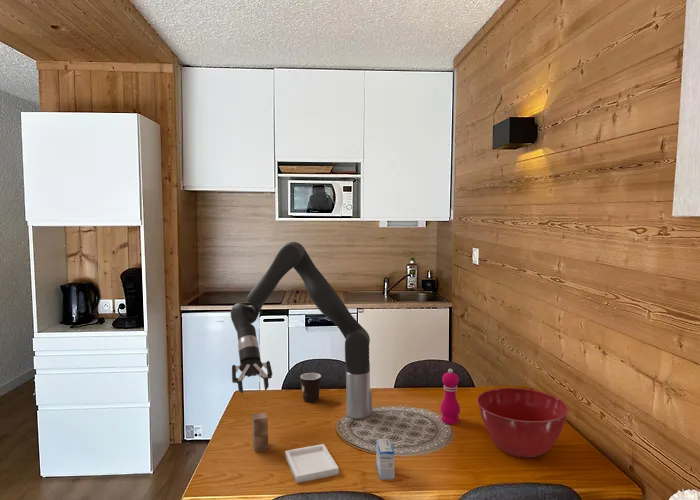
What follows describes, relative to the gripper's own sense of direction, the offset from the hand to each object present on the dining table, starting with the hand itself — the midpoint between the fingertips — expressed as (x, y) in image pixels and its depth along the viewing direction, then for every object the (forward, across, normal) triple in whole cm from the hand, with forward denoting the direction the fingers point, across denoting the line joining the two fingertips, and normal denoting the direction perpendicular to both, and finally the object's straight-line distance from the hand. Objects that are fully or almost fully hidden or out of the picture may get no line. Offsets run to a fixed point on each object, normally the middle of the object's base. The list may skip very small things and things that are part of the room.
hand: (254, 390), depth 171 cm
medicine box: (+40, +33, -18) cm, 55 cm away
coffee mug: (-6, +27, +28) cm, 39 cm away
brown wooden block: (+19, 0, +3) cm, 19 cm away
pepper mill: (+23, +70, -1) cm, 74 cm away
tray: (+31, +13, -9) cm, 35 cm away
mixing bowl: (+41, +81, -19) cm, 93 cm away
